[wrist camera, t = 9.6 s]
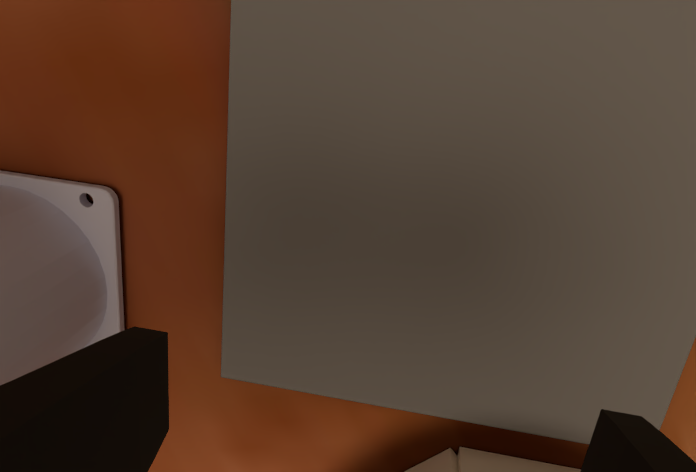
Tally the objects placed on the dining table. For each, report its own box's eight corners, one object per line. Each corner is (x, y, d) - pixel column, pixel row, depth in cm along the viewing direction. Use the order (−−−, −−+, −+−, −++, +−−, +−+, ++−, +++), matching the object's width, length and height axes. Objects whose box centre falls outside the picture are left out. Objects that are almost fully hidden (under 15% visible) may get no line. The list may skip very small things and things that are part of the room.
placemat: (224, 371, 21) (220, 377, 21) (238, -93, 16) (233, -97, 15) (645, 447, 20) (649, 455, 19) (830, -39, 14) (841, -40, 14)
